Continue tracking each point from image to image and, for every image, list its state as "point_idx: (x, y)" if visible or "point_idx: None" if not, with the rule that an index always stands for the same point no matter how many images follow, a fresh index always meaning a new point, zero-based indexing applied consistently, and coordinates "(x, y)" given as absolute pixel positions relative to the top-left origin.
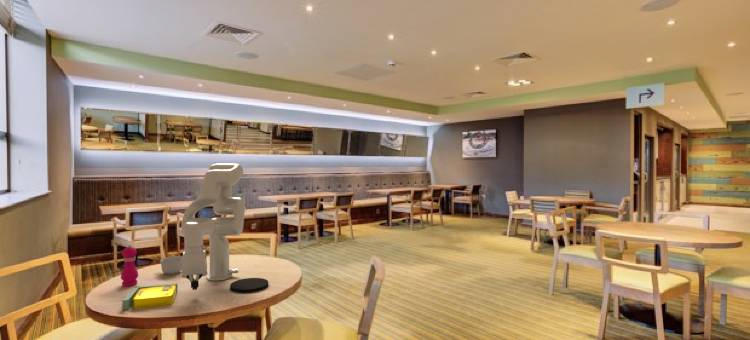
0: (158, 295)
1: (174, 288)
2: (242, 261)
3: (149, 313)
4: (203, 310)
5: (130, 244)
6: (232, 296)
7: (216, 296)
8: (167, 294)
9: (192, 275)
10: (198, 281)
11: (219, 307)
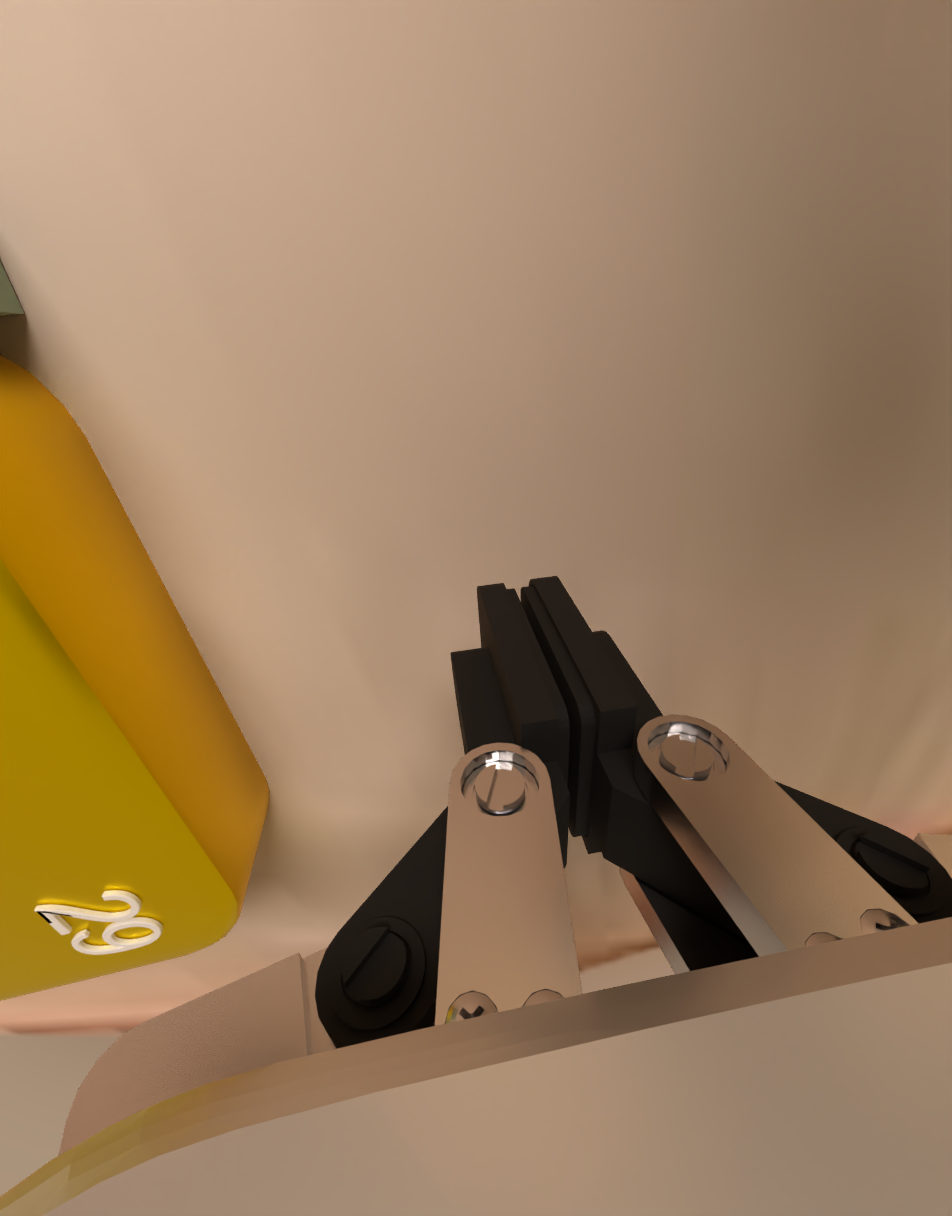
0: (5, 962)
1: (43, 661)
2: None
3: (164, 978)
4: (629, 917)
5: None
6: (937, 648)
7: (775, 627)
8: (153, 943)
9: (550, 933)
10: (649, 704)
11: None
